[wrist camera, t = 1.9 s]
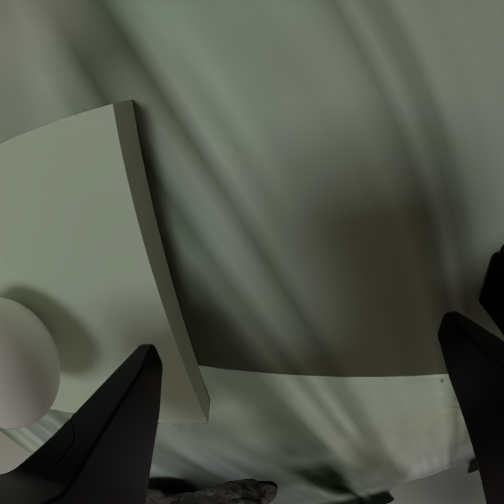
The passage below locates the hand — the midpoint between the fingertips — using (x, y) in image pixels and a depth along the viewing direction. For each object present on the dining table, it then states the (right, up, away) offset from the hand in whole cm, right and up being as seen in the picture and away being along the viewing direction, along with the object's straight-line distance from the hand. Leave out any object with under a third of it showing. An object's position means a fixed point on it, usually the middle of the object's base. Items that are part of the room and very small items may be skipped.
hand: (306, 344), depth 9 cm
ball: (-11, -2, 0) cm, 11 cm away
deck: (-13, 0, +3) cm, 14 cm away
